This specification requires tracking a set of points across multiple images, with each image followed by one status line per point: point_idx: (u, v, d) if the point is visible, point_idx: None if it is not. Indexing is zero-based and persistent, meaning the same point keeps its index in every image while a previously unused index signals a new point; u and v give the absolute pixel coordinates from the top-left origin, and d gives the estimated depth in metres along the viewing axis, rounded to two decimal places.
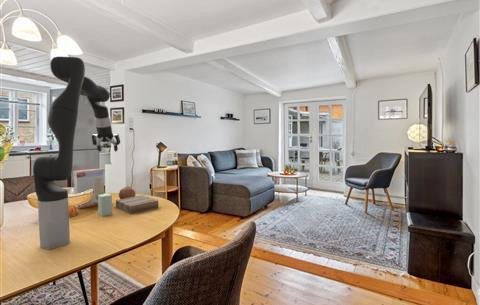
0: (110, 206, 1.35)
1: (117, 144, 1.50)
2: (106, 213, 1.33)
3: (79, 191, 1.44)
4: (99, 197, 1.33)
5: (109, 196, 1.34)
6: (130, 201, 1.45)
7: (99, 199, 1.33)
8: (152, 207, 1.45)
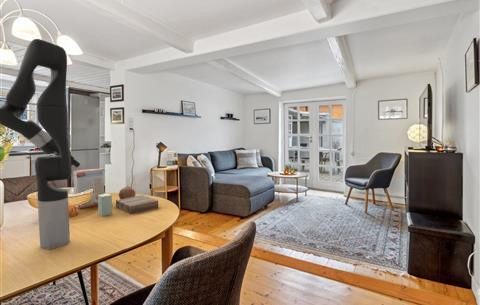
0: (110, 206, 1.35)
1: None
2: (106, 213, 1.33)
3: (79, 191, 1.44)
4: (99, 197, 1.33)
5: (109, 196, 1.34)
6: (130, 201, 1.45)
7: (99, 199, 1.33)
8: (152, 207, 1.45)
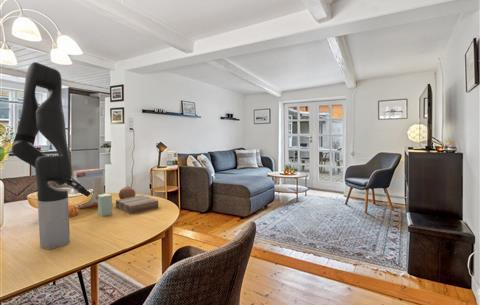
0: (110, 206, 1.35)
1: None
2: (106, 213, 1.33)
3: None
4: (99, 197, 1.33)
5: (109, 196, 1.34)
6: (130, 201, 1.45)
7: (99, 199, 1.33)
8: (152, 207, 1.45)
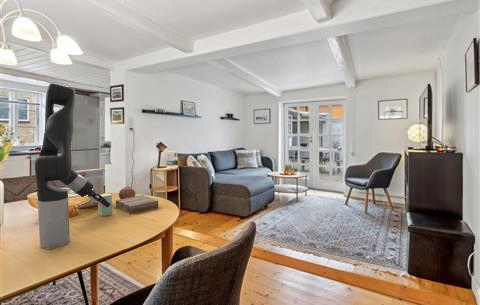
0: (110, 206, 1.35)
1: None
2: (106, 213, 1.33)
3: None
4: None
5: (109, 196, 1.34)
6: (130, 201, 1.45)
7: None
8: (152, 207, 1.45)
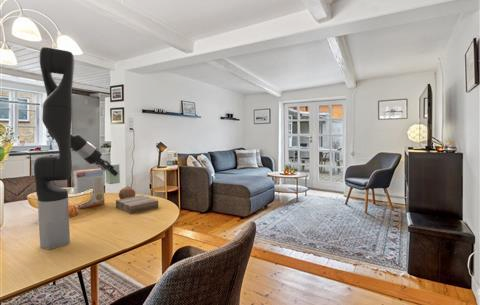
0: (118, 175, 1.37)
1: None
2: (114, 181, 1.36)
3: (79, 191, 1.44)
4: None
5: (117, 165, 1.37)
6: (130, 201, 1.45)
7: None
8: (152, 207, 1.45)
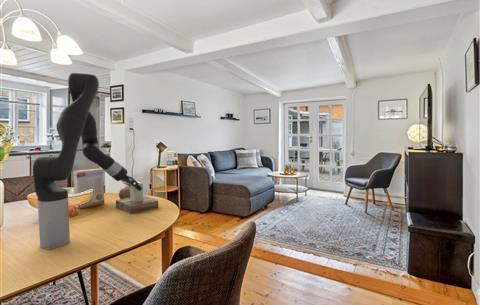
0: (141, 193, 1.47)
1: None
2: (138, 199, 1.45)
3: (79, 191, 1.44)
4: (131, 185, 1.45)
5: (140, 184, 1.46)
6: (130, 201, 1.45)
7: (131, 186, 1.45)
8: (152, 207, 1.45)
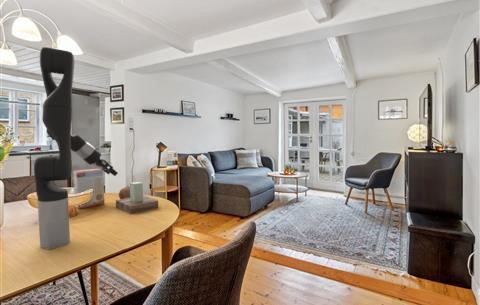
0: (141, 193, 1.47)
1: None
2: (138, 199, 1.45)
3: (79, 191, 1.44)
4: (131, 185, 1.45)
5: (140, 184, 1.46)
6: (130, 201, 1.45)
7: (131, 186, 1.45)
8: (152, 207, 1.45)
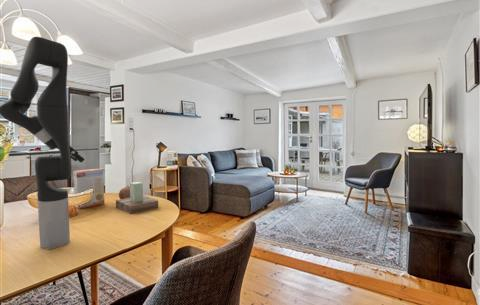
0: (141, 193, 1.47)
1: None
2: (138, 199, 1.45)
3: (79, 191, 1.44)
4: (131, 185, 1.45)
5: (140, 184, 1.46)
6: (130, 201, 1.45)
7: (131, 186, 1.45)
8: (152, 207, 1.45)
